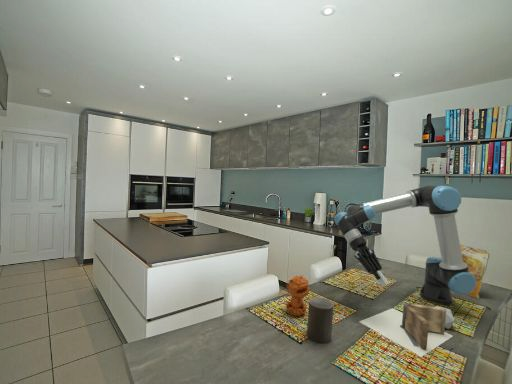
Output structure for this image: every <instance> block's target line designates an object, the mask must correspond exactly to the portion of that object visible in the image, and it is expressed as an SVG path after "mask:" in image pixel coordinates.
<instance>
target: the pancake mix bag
mask: <svg viewBox="0 0 512 384" xmlns="http://www.w3.org/2000/svg"><path fill="white" fill-rule="evenodd" d="M460 247H461V253H462V258H463V262H465V263H466V264H467V265H468V270H469V273H471V274H472V275H473V276H474V277H475V279H476V286H475V288H474V289H473V290H472V291H471V292H469V293H467V294H464V295H466V296H468V297H471V298H476V299H480V294H479V293H480V291H481V287H482V283H483V280H484V277H485V273H486V270H487V266H488V263H489V259H490V253H489V252H487V250H484V249H481V248H476V247H471V246H469V245H462V244H460Z"/></svg>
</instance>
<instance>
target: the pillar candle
mask: <svg viewBox="0 0 512 384" xmlns="http://www.w3.org/2000/svg"><path fill="white" fill-rule="evenodd" d="M307 312H308V313H307V328H306V335H307V337H308V338H309V339H310V340H312V341H313V342H316V343H319V344H327V343H330V342H331V340H332V334H333V321H334V303H333V302H332V300H329V299H327V298H323V297H312V298H310V299H309V301H308V311H307Z"/></svg>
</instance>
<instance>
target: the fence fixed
mask: <svg viewBox="0 0 512 384" xmlns="http://www.w3.org/2000/svg"><path fill="white" fill-rule="evenodd" d="M406 306H411V307H412V308H413V309H415V310H416V311H417V312H418V313H419V314H420V315H421V316H422V317H423V318H424V319H425V320H427V322H428V323H429V327H428V331H432V332H438V333H440V334H442V335H444V332H446V331H445V329H446V328H445V320H446V309H447V308H446V309H444V308H445V307H443V308H438V307H436V306H430V305H422V304H415V303H408V302H403V308H402V309H403V310H402V313H403V318H402V327H403V328H405V319H406Z"/></svg>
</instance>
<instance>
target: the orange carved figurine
mask: <svg viewBox="0 0 512 384" xmlns="http://www.w3.org/2000/svg"><path fill="white" fill-rule="evenodd" d="M310 290H311V288H310V287H309V280H308V279H307V278H305V277H304V275H302V274H301V275H299V276H298V275H295V276H294V275H293V277H292V278H291V279H289V280H288V281H287V283H286V291H287V293H289V294H290V296H291V298H290V300H289V301H287V303H286V306H285V307H286V310H285V311H289V313H290V314H291V315H292V316H296V317H299V316H300V317H301V316H302V315H306V313H307V312H308V311H307V305H306V304H305V303H304V302H305V301H303V299H304V298H305V297H307V296H308V294H309V292H310Z"/></svg>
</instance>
